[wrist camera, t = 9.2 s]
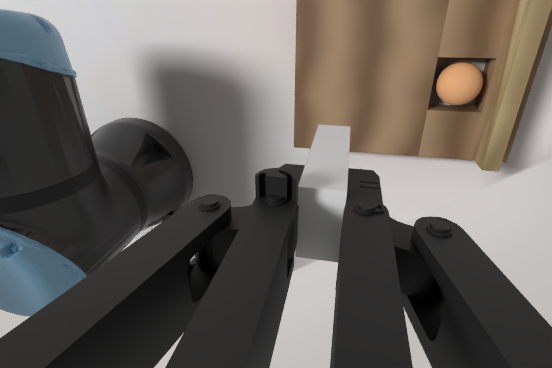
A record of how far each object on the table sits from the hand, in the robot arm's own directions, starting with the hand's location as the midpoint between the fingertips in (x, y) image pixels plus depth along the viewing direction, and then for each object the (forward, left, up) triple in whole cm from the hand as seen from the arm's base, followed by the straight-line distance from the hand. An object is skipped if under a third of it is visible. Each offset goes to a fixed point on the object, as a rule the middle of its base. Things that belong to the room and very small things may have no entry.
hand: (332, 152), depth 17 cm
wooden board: (+6, 0, -23) cm, 24 cm away
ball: (+11, 0, -21) cm, 24 cm away
